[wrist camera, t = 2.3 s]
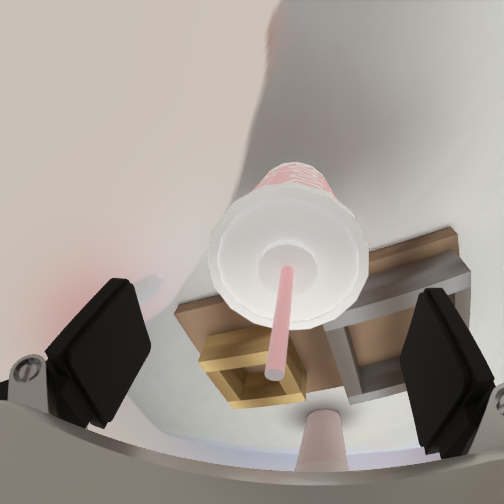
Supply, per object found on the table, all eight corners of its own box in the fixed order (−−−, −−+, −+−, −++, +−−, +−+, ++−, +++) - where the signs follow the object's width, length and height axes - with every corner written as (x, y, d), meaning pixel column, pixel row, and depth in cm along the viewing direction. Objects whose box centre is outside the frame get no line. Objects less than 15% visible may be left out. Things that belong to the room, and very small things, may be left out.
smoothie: (286, 425, 31) (271, 533, 19) (308, 397, 28) (297, 525, 16) (336, 433, 31) (332, 537, 19) (362, 407, 28) (366, 526, 16)
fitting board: (450, 227, 18) (476, 254, 14) (453, 343, 22) (467, 376, 19) (178, 305, 25) (159, 338, 21) (237, 393, 29) (229, 425, 25)
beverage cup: (359, 178, 18) (455, 332, 5) (313, 255, 21) (313, 449, 8) (271, 132, 17) (191, 204, 5) (232, 216, 20) (136, 384, 8)
